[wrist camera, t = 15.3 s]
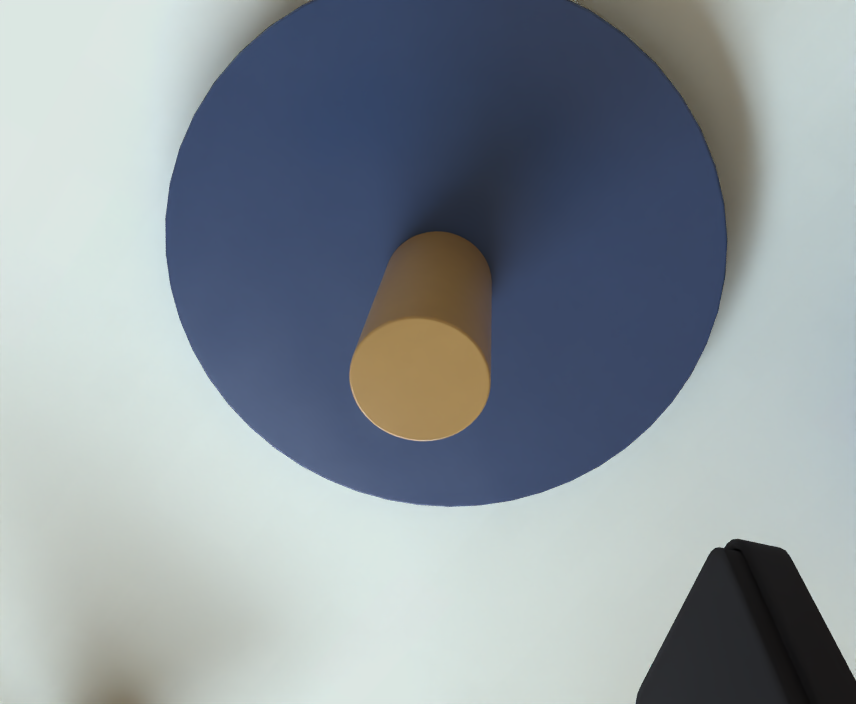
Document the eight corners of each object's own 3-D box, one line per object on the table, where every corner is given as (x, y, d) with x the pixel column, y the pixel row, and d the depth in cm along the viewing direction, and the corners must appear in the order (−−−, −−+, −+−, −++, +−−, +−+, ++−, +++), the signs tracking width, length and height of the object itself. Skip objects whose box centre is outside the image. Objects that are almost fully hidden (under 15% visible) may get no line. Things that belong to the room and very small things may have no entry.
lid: (545, -176, 16) (575, -271, 10) (802, 352, 21) (924, 496, 15) (71, 182, 20) (-102, 263, 14) (374, 550, 25) (337, 723, 19)
